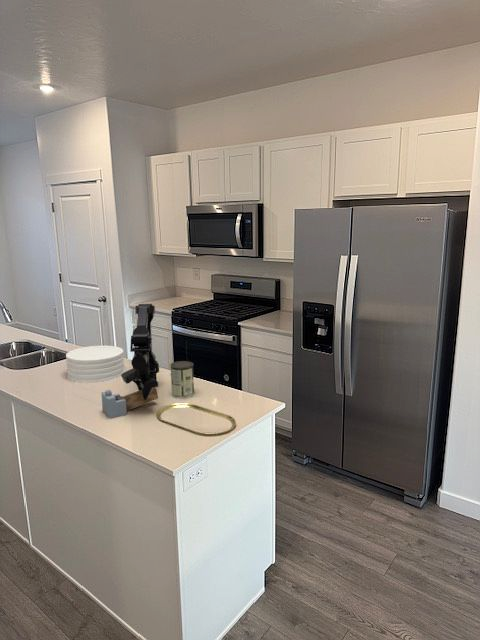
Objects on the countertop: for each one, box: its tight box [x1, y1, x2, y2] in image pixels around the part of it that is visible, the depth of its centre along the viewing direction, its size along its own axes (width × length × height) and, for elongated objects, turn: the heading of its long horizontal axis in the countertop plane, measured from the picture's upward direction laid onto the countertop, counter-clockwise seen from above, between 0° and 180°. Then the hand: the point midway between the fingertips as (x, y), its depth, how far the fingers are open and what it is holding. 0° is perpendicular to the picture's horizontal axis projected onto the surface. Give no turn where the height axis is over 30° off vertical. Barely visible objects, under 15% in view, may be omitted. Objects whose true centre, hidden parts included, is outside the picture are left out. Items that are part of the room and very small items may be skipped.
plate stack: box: [65, 345, 125, 383], centre depth 228 cm, size 28×28×12 cm
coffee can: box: [169, 360, 195, 399], centre depth 199 cm, size 10×10×14 cm
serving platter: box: [156, 402, 237, 436], centre depth 173 cm, size 19×35×2 cm, turn 54°
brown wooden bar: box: [117, 387, 159, 412], centre depth 184 cm, size 16×4×6 cm, turn 123°
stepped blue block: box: [100, 389, 127, 419], centre depth 179 cm, size 7×9×10 cm
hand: (143, 397), depth 186 cm, fingers closed on brown wooden bar, 4 cm apart
